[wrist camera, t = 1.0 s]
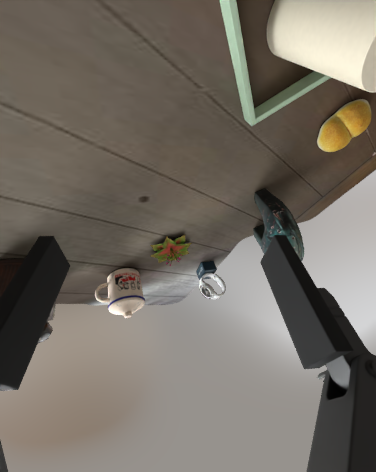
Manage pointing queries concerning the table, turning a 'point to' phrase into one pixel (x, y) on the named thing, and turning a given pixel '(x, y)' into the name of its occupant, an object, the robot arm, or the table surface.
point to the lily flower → (170, 249)
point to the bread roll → (344, 125)
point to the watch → (206, 272)
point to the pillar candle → (327, 37)
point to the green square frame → (242, 76)
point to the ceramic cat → (276, 222)
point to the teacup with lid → (123, 292)
